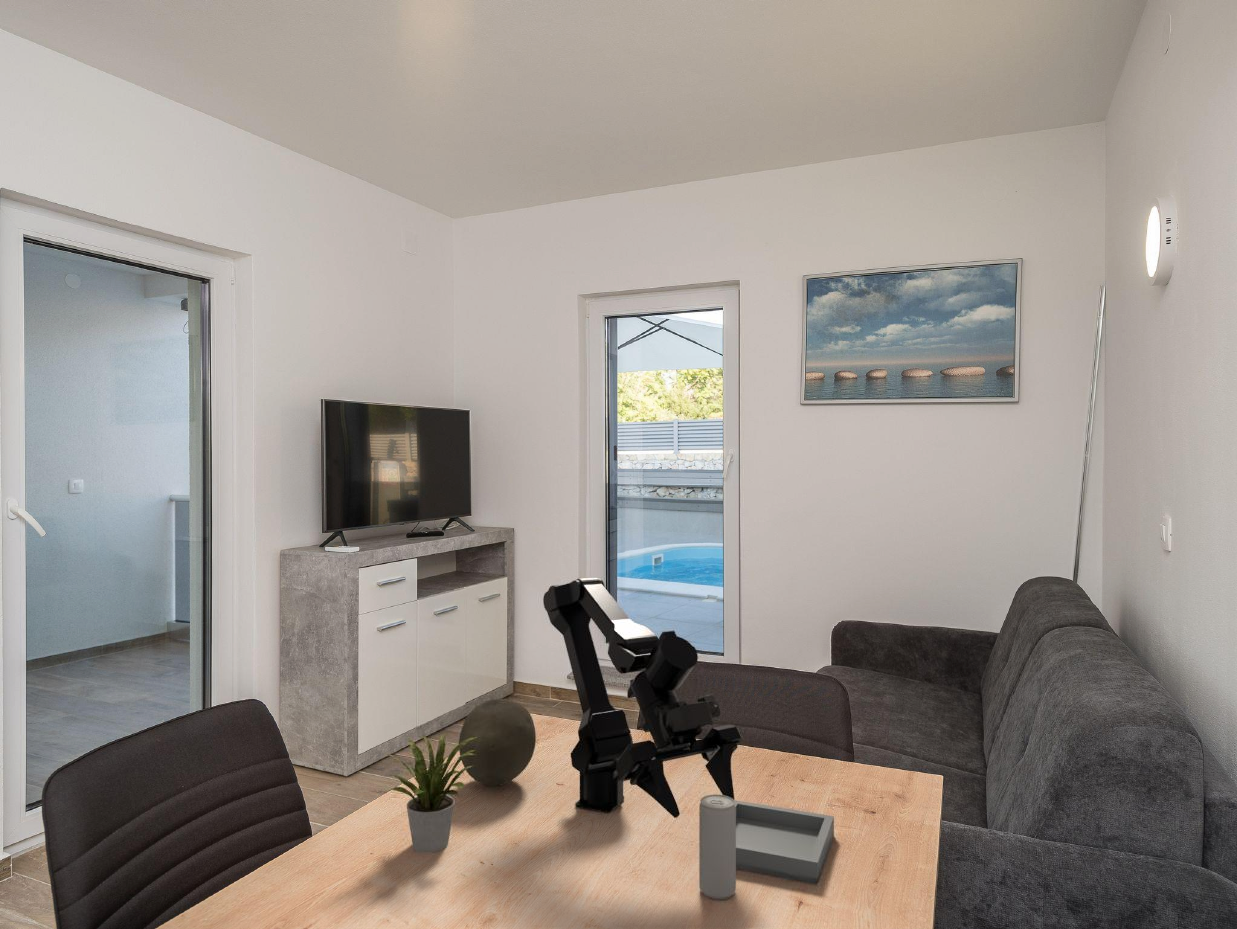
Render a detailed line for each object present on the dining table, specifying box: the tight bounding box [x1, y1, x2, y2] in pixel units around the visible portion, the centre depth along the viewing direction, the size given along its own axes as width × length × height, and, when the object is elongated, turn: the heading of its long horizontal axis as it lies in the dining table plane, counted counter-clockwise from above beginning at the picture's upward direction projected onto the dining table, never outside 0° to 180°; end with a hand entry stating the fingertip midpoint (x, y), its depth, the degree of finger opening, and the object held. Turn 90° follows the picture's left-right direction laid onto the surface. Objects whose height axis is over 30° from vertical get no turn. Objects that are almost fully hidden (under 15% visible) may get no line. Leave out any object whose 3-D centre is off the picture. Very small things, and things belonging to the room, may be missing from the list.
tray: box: [734, 800, 835, 886], centre depth 118 cm, size 16×16×3 cm
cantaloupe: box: [458, 698, 537, 787], centre depth 143 cm, size 14×14×15 cm
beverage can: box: [698, 794, 737, 901], centre depth 106 cm, size 5×5×12 cm
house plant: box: [385, 732, 477, 854], centre depth 120 cm, size 14×14×16 cm
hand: (705, 809), depth 109 cm, fingers open, 9 cm apart
